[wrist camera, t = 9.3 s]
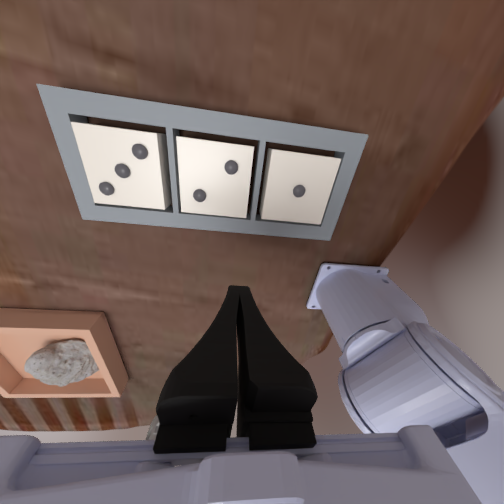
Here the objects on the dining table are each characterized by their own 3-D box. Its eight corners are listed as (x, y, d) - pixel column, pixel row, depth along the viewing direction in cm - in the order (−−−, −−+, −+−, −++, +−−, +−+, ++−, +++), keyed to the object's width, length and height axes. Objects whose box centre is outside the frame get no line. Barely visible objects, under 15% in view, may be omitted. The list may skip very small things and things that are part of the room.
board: (356, 135, 18) (368, 134, 16) (323, 232, 23) (329, 240, 21) (59, 90, 15) (36, 83, 13) (96, 212, 20) (82, 219, 18)
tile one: (329, 156, 18) (342, 158, 16) (312, 215, 21) (321, 225, 19) (268, 148, 18) (272, 149, 15) (259, 210, 21) (261, 219, 18)
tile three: (167, 134, 17) (155, 133, 14) (173, 201, 20) (164, 210, 17) (93, 124, 16) (68, 121, 14) (110, 195, 19) (92, 203, 17)
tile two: (252, 146, 17) (254, 146, 15) (245, 209, 20) (246, 218, 18) (184, 136, 17) (175, 136, 14) (187, 204, 20) (180, 212, 17)
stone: (71, 395, 32) (-7, 387, 26) (85, 364, 36) (18, 350, 29) (114, 379, 30) (40, 366, 24) (124, 348, 34) (61, 329, 27)
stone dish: (103, 311, 27) (89, 329, 25) (128, 378, 36) (120, 397, 34) (-44, 306, 25) (-76, 325, 23) (22, 378, 34) (4, 397, 32)
